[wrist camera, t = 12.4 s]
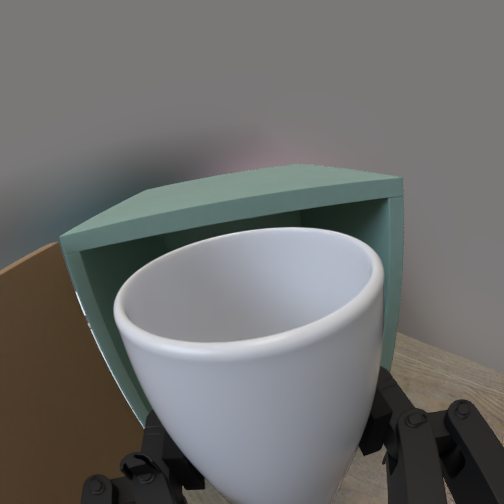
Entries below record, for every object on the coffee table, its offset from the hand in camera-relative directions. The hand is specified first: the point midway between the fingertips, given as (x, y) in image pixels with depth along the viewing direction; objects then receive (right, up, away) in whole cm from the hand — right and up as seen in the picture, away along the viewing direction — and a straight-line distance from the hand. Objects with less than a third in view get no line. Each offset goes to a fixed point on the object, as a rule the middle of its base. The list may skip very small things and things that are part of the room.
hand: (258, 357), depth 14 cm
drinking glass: (+2, -9, -2) cm, 10 cm away
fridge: (+1, -11, +21) cm, 23 cm away
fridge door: (-12, -21, -2) cm, 24 cm away
